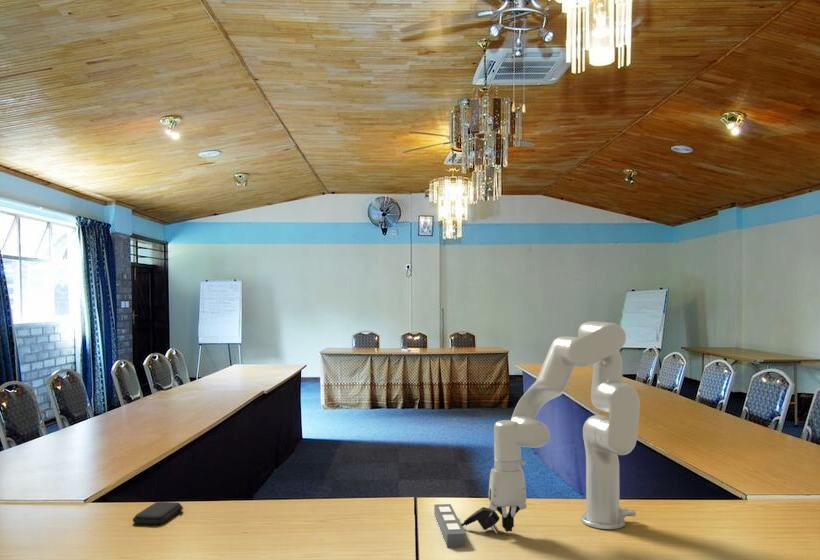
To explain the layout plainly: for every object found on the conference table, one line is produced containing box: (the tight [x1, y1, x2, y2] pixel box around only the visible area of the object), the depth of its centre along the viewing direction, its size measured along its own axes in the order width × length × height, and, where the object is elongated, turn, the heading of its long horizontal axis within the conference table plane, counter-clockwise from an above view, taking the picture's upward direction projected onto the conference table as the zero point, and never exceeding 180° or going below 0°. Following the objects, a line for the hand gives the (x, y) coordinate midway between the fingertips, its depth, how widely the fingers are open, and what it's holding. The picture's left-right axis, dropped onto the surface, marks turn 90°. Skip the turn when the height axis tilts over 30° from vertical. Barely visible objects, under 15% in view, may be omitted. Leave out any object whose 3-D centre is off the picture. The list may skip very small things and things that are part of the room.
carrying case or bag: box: [132, 501, 184, 526], centre depth 188 cm, size 11×3×15 cm
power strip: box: [433, 503, 467, 548], centre depth 178 cm, size 5×24×4 cm, turn 6°
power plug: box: [460, 506, 500, 535], centre depth 178 cm, size 6×8×12 cm
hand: (507, 529), depth 175 cm, fingers closed
